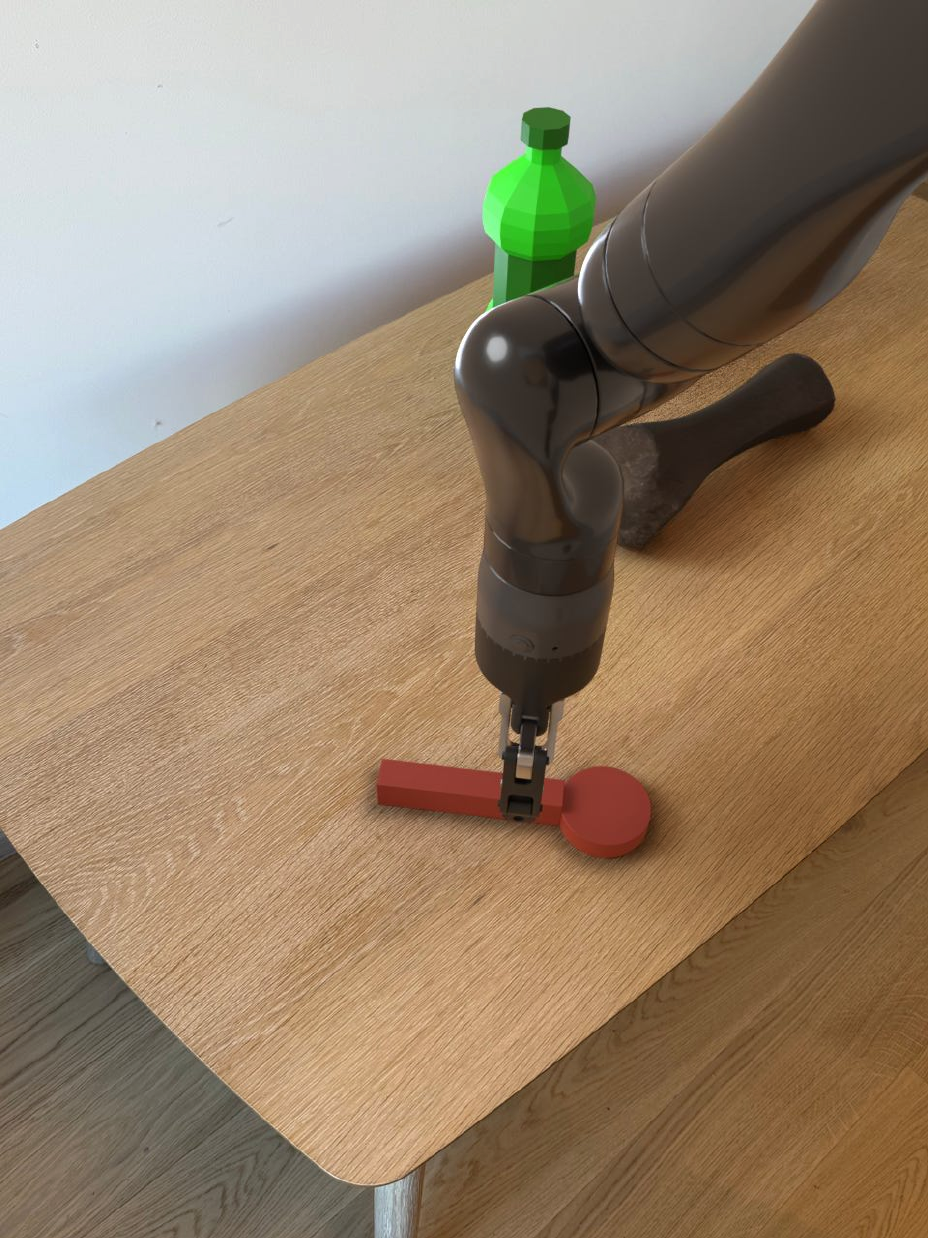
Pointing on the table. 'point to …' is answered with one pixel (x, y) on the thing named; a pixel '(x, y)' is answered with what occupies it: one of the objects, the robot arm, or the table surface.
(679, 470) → the dark brown bone
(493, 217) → the plastic bottle
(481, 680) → the table surface
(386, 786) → the red flat paddle piece
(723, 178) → the robot arm
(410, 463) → the table surface
